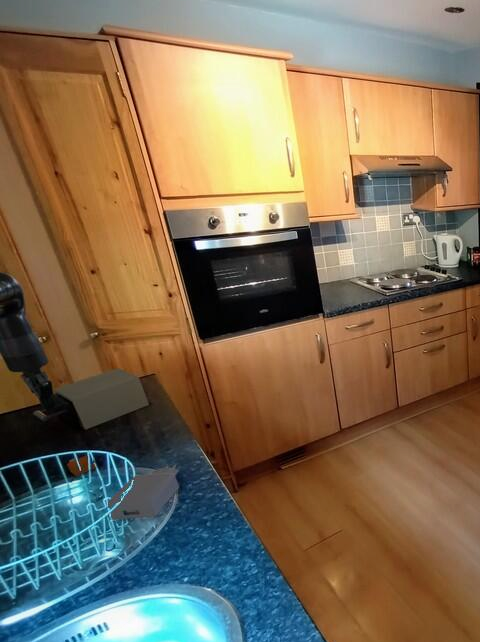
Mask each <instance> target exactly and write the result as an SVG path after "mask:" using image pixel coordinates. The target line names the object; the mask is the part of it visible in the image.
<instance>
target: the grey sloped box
mask: <svg viewBox="0 0 480 642" xmlns="http://www.w3.org/2000/svg"><path fill="white" fill-rule="evenodd" d="M52 389H53V394H55V395H56V396H58V397H60V398H62V399H63V397H64V398H66V399H68V400H70V401H71V402H72V403H73V405H74V407H75V409H76V411H77V414H78V416H79V418H80V420H79V419H78V418H77V419H78V421H79V424H80V426H81V428H82V429H83V430H88V429H91V428H94V427H96V426H99V425H101V424H104V423H106V422H109V421H111V420H114V419H117V418H119V417H122V416H124V415H127V414H129V413H131V412H134V411H137V410H139V409H142V408H145V407H148V406H149V405H150V403H149V401H148V398H147V395H146V393H145V390H144V387H143V385H142V382H141V380H140V377H139V376H137V375H134V374H132V373H130V372H128V371H125V370H123V369H122V368H115V369H112V370H108V371H105V372H101V373H98V374H96V375H93V376H90V377H87V378H83V379H81V380H78V381H74V382H71V383H68V384H64V385H61V386H59V387H55V388H52ZM62 396H63V397H62ZM63 400H64V399H63Z"/></svg>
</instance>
